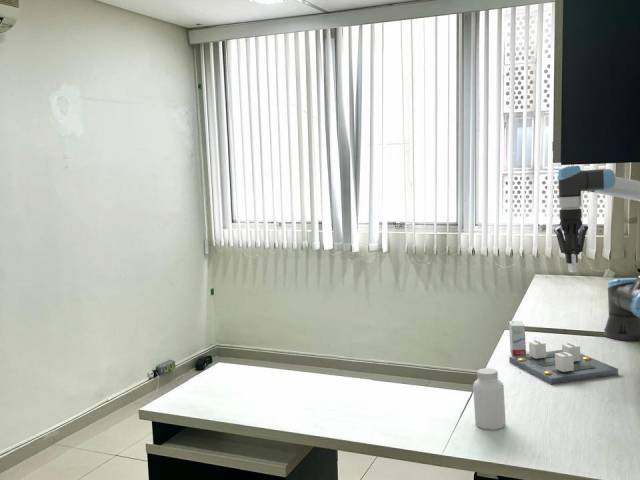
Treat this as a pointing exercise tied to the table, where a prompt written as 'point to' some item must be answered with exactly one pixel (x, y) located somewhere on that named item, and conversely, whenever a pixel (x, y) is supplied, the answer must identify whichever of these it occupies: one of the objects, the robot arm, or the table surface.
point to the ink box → (517, 338)
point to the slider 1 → (537, 349)
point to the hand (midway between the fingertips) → (572, 271)
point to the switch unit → (551, 375)
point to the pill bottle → (489, 400)
